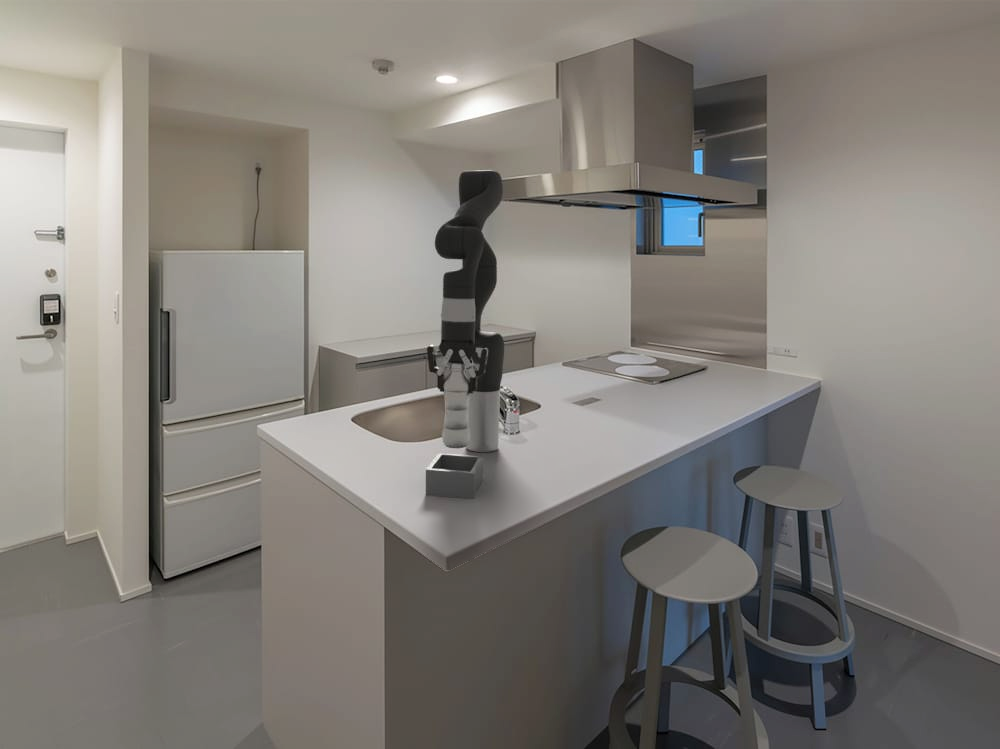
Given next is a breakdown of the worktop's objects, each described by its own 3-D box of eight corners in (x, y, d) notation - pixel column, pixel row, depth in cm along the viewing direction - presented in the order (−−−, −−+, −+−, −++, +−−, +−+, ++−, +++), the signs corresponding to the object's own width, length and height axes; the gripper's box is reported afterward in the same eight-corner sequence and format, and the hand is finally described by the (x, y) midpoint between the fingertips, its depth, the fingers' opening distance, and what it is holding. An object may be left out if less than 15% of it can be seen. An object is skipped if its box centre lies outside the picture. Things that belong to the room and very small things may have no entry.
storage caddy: (438, 476, 145) (438, 452, 144) (482, 479, 144) (483, 456, 143) (425, 494, 134) (425, 469, 133) (473, 498, 132) (474, 473, 131)
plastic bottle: (470, 443, 141) (472, 360, 137) (469, 452, 134) (471, 365, 130) (442, 442, 140) (444, 359, 137) (440, 451, 134) (442, 364, 130)
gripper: (492, 318, 134) (490, 390, 137) (431, 315, 136) (430, 386, 139) (487, 321, 127) (485, 397, 130) (422, 318, 129) (421, 393, 132)
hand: (456, 391), depth 135 cm, fingers closed on plastic bottle, 6 cm apart
